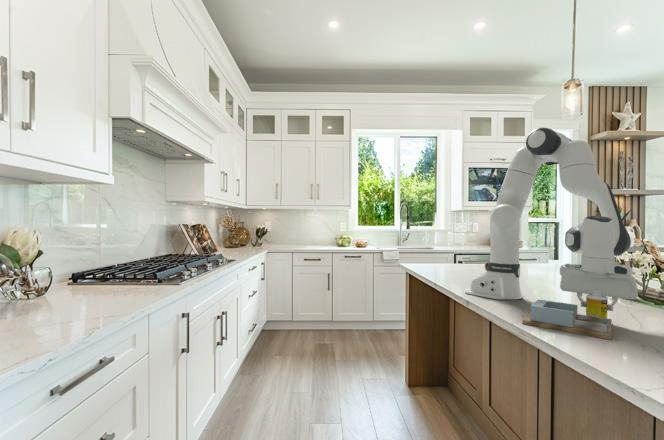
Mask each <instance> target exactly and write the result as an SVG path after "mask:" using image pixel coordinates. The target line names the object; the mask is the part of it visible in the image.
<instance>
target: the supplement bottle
mask: <svg viewBox="0 0 664 440" xmlns="http://www.w3.org/2000/svg"><path fill="white" fill-rule="evenodd" d="M585 299H586V300H585V301H586V307H585V315H587V316H593V317H600V318H607V319H608V310H607V304H608V296H601V294H600V291H594V293H593V294H586V298H585Z"/></svg>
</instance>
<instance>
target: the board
mask: <svg viewBox="0 0 664 440" xmlns="http://www.w3.org/2000/svg"><path fill="white" fill-rule="evenodd" d="M530 317H531V312H530V313H528V314H527V315H526V316H525V317H524V318H522V325H527V326H532V327H533V326H534V327H538V328H539V327H540V328H544V329H550V330H554V329H555V331H560V330H561V332H565V331H567V333H571V334H577V335H583V336H587V337H588V336H589V337H593V338H594V337H595V338H599V339H605V340H610V341H612V339H613V333H614V324H613V323H612V321H613V320H612V318H608V317H607V318H600V317H593V316H587V315H586V314H580V313H579V314H578V313H577V314H574V315H573V327H567V326H561V325H555V324H550V323H544V322H538V321H532V320H530Z"/></svg>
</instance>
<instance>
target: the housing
mask: <svg viewBox="0 0 664 440" xmlns="http://www.w3.org/2000/svg"><path fill="white" fill-rule="evenodd" d="M578 306H579V305H578V304H575V303H574V304H573V303H567V302H560V301H552V300H545V299H537V300H535V302H533V303H532V304H531V305H530V313H531V317H530V320H532V321H538V322H544V323H550V324H555V325H561V326H567V327H573V315H574V314H578V308H579V307H578Z"/></svg>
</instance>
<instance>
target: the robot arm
mask: <svg viewBox="0 0 664 440" xmlns="http://www.w3.org/2000/svg"><path fill="white" fill-rule="evenodd" d="M595 161H596V160H595V156H594V152H593V150H592V147H591V145H590V144H589V143H588V142H587V141H584V140H578V139H576V140H573V139H571V138H569V137H567V136H566V135H564V134H563V133H561V132H557V131H555V130H553V129H551V128H548V127H538V128H535V129H533V130H532V131H531V132H530V133H528V136H527V137H526V140H525V146H524V147H520V148H519V149H517V150H516V152H515V154H514V155H513V157H512V159H511V161H510V162H509V165H508V168H507V170H506V173H505V176H504V179H503V182H502V184H501V187H500V189H499V190H500V191H499V193H498V197H497V200H496V203H495V206H494V208H493V209H492V210H491V212H490V216H489V220H490V221H489V223H490V226H489V227H490V228H489V229H490V230H489V235H490V237H489V238H490V239H489V240H490V241H489V243H490V246H489V247H490V251H489V252H490V253H489V255H490V256H489V261H488V262H486V263H485V264H484V269H485V270H483V271H481V272H480V273H479V274H477V275H476V276H474V277H473V278H472V280H471V283H470V287H468V288H465V290H464V293H465V295H466V294H468V295H473V296H478V297H484V298H488V299H494V300H520V299H523V294H522V291H521V286H520V285H521V283H520V277H521V264H520V234H521V232H520V230H521V229H520V228H521V227H520V226H521V225H520V223H521V217H522V215H523V212H524V209H525V206H526V204H527V200H528V198H529V196H530V193H531V191H532V188H533V185H534V183H535V180H536V177H537V175H538V172H539V169H540V167H541V166H543V165H544V164H545V165H546V166H551V165H558V171H559V179H560V183H561V186H562V188H563V189H565V190H566V191H567V192H569V193H571V194H572V195H575V196H578V197H582V198H585V199H587V200H589V201H591V202H593V203H594V204H596V206H597V207H598V211H599V212H600V215H589V216H586V217H584V218H583V221H582V222H581V223H579V224H577V225H575V226H572V227H570V228H569V229H568V230H567V231H566V232H565V237H564V244H565V247H567V249H568V250H570V252H572V253H575V254H576V253H577V254H581V255H580V256H581V261H580V263H581V264H578V263H577V264H571V263H565V264H562V265H561V266H560V267H559V275H560V276H561V277H560V282H559V283H560V285H559V288H560V290H561V291H563V292H569V293H576V297H577V298H578V300H579V302H580V307H581V308H586V300H584V299H583V297H582V296H583V295H584V294H586V295H589V294H593V293H594V291H600V294H601V296H605V297H611V301H612V302H611V303H610V304H608V303H607V312H608V311H609V312H614V305H616V304H617V302H618V299H626V300H636V299H637V298H639V295H638V292H639V291H638V285H637V280H636V278H635V276H634V275H633V274H634V270H633V267H631V266H629V265H626V264H623V263H619V262H616V257H619V256H621V255H624V254H625V253H626V252H627V251H628V250H629V248H630V247H631V244H632V240H631V236H630V234H629V231H628V230H627V228H626V226H625V224H624V221H623V219H622V216H621V213H620V210H619V208H618V204H617V202H616V198H615V196H614V194H613V191H612V189H611V186H610V185H609V184H608V183H607V182H604V181H603V179H602V178H601V176H600V175H599V173H598V171H597V167H596V166H597V165H596V162H595Z"/></svg>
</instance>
